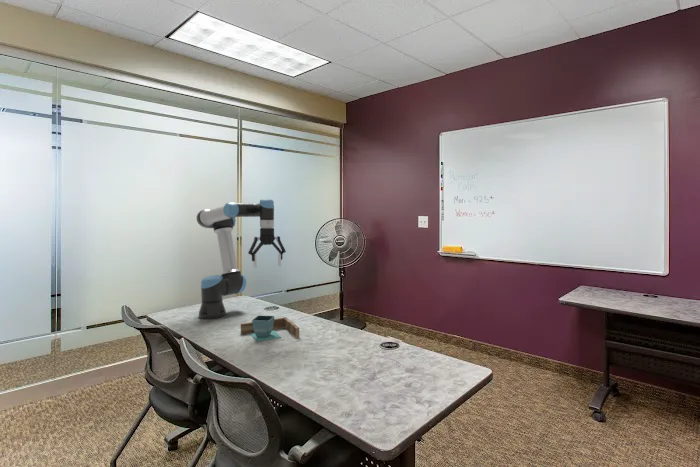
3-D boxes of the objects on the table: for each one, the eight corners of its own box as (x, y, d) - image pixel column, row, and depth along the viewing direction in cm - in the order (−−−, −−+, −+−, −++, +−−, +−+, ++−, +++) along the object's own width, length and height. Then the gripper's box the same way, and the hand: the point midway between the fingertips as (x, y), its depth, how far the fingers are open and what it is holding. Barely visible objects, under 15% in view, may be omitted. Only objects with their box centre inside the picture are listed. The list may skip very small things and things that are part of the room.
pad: (250, 334, 184) (250, 333, 184) (273, 330, 190) (273, 329, 190) (256, 341, 174) (256, 341, 174) (281, 337, 180) (281, 337, 180)
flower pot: (258, 332, 186) (257, 315, 186) (275, 333, 185) (274, 315, 185) (251, 338, 177) (251, 320, 177) (269, 339, 176) (269, 320, 176)
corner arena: (240, 333, 186) (240, 323, 186) (286, 326, 197) (286, 317, 197) (250, 346, 168) (249, 335, 168) (299, 337, 180) (299, 327, 180)
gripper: (245, 228, 190) (246, 269, 192) (291, 227, 202) (291, 265, 203) (242, 227, 197) (242, 267, 198) (286, 227, 209) (287, 263, 210)
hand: (267, 266), depth 201 cm, fingers open, 13 cm apart
